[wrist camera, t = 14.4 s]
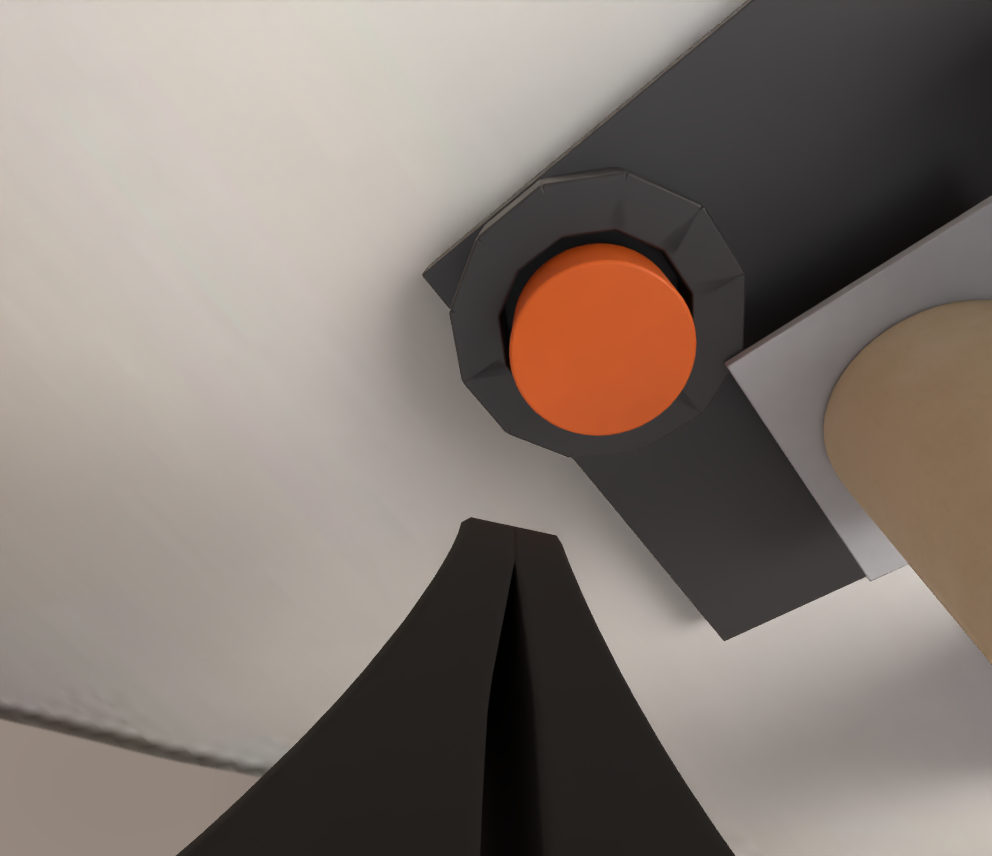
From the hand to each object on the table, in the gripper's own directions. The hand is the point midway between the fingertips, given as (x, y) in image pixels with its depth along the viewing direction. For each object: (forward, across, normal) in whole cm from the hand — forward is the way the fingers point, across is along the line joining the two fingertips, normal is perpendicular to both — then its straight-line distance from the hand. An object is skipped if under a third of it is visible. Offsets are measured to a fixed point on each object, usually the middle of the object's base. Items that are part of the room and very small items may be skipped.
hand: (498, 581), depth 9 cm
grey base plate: (+10, -8, -2) cm, 13 cm away
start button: (+8, -2, -2) cm, 8 cm away
